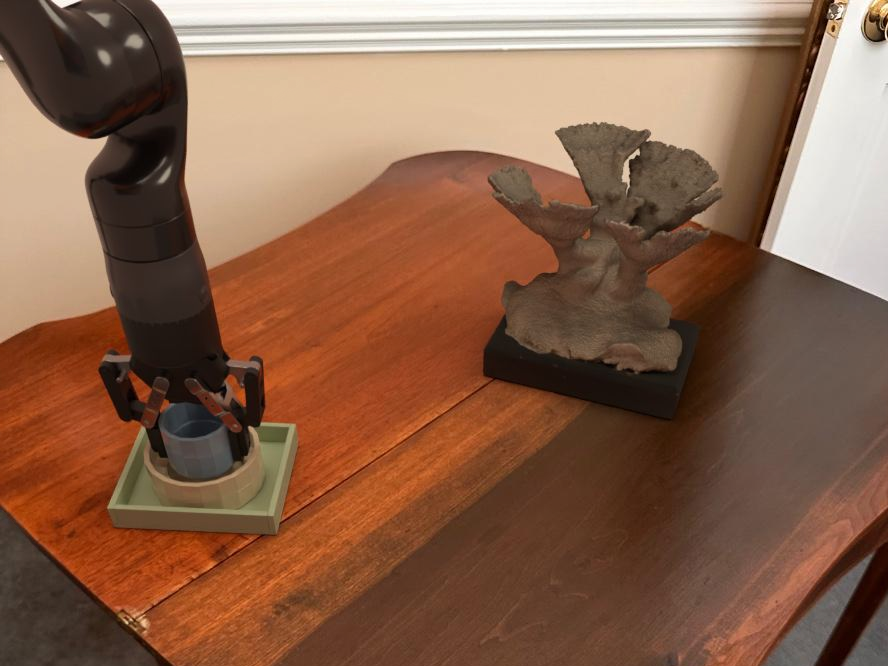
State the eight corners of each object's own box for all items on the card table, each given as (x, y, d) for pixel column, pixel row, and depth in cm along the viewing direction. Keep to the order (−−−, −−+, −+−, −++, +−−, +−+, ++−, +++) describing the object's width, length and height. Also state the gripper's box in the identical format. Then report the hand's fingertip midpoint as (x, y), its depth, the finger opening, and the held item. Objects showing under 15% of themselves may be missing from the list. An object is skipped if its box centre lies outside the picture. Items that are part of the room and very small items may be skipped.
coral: (452, 368, 98) (458, 174, 82) (511, 280, 110) (527, 97, 94) (670, 424, 92) (723, 229, 76) (707, 326, 105) (760, 139, 88)
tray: (114, 527, 81) (106, 508, 79) (151, 436, 89) (145, 416, 87) (276, 535, 81) (273, 515, 79) (298, 442, 89) (295, 423, 87)
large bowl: (142, 518, 82) (130, 483, 78) (170, 445, 88) (160, 409, 85) (254, 524, 82) (247, 488, 78) (274, 450, 88) (268, 414, 85)
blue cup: (163, 480, 81) (150, 438, 77) (179, 436, 85) (168, 394, 81) (231, 484, 81) (222, 442, 77) (245, 439, 85) (236, 397, 81)
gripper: (261, 272, 72) (285, 432, 85) (87, 265, 72) (138, 425, 85) (243, 323, 67) (272, 484, 80) (57, 315, 67) (116, 477, 80)
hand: (203, 453), depth 82 cm, fingers closed on blue cup, 6 cm apart
